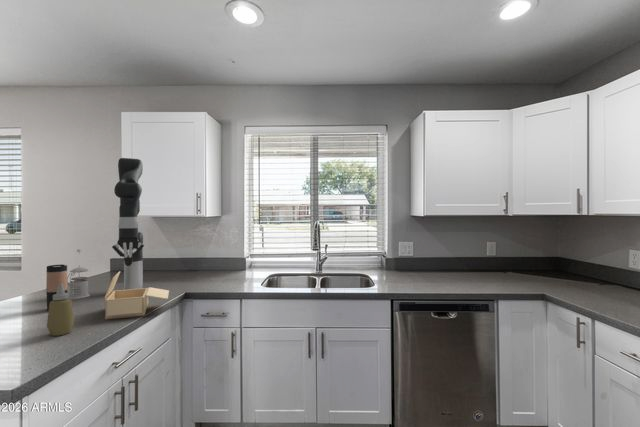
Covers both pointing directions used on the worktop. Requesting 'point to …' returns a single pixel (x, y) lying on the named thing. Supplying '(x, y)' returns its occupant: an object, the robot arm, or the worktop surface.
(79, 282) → the french press
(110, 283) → the flap
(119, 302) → the carton
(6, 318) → the worktop surface
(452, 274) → the worktop surface
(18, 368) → the worktop surface
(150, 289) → the flap
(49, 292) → the travel mug
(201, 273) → the worktop surface
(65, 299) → the squeeze bottle
